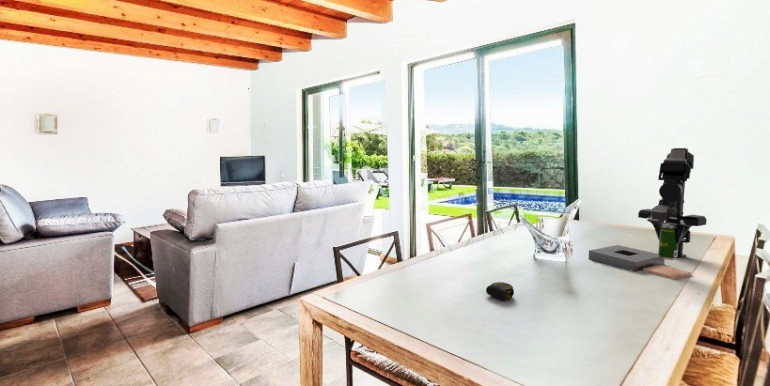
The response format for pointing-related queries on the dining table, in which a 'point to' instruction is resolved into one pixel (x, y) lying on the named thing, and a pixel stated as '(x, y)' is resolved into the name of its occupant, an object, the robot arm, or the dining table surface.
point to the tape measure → (500, 290)
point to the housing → (626, 257)
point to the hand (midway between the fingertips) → (668, 241)
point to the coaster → (667, 271)
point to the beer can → (668, 241)
